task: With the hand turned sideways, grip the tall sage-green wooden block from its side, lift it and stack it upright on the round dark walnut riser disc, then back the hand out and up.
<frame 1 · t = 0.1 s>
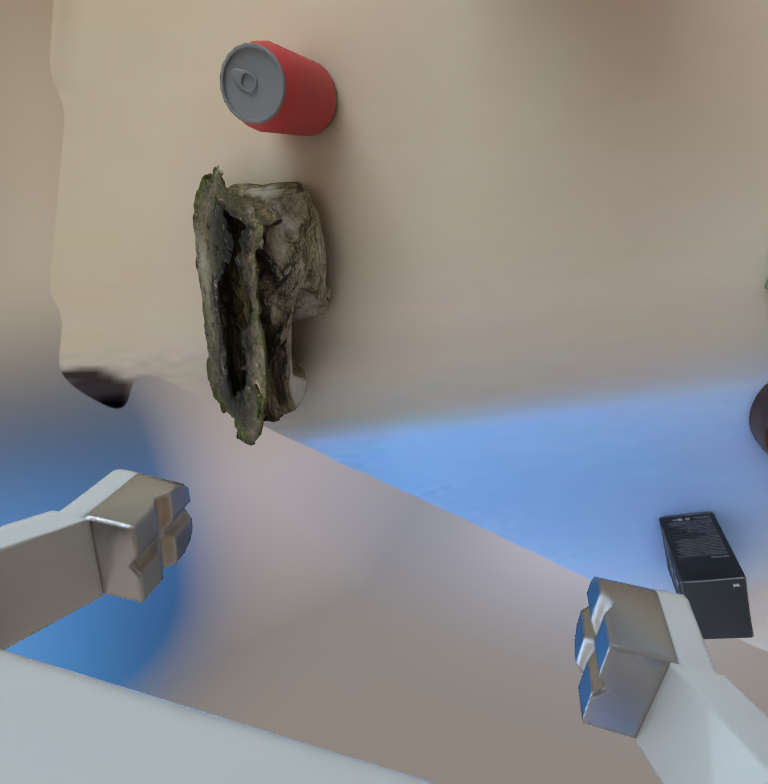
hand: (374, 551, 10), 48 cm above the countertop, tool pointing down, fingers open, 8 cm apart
box: (688, 540, 62), on the countertop
hollow geode rock: (277, 298, 62), on the countertop
beer can: (307, 99, 52), on the countertop
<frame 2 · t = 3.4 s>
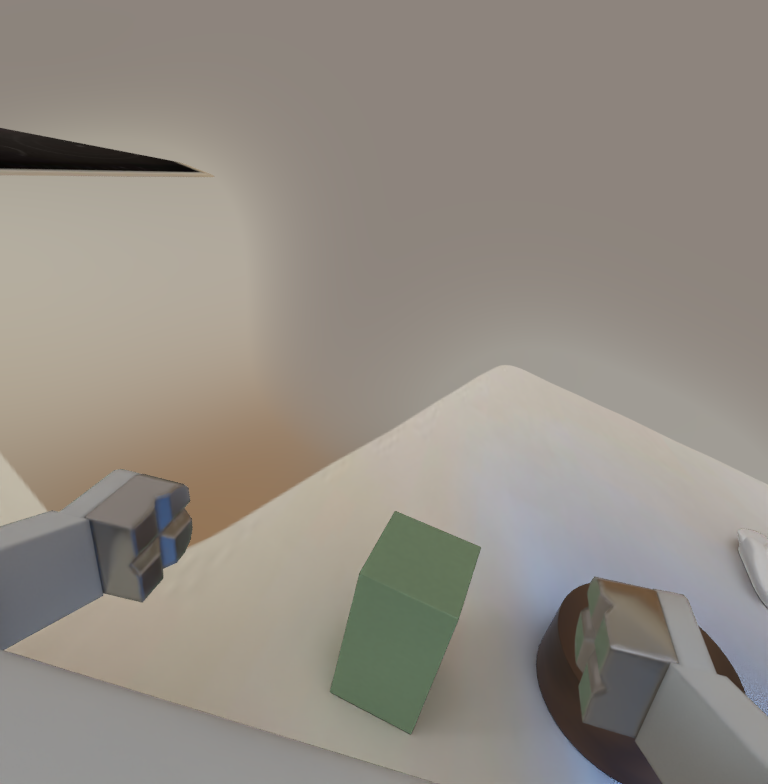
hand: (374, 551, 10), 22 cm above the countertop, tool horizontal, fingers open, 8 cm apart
riser: (621, 695, 33), on the countertop
block: (385, 674, 32), on the countertop
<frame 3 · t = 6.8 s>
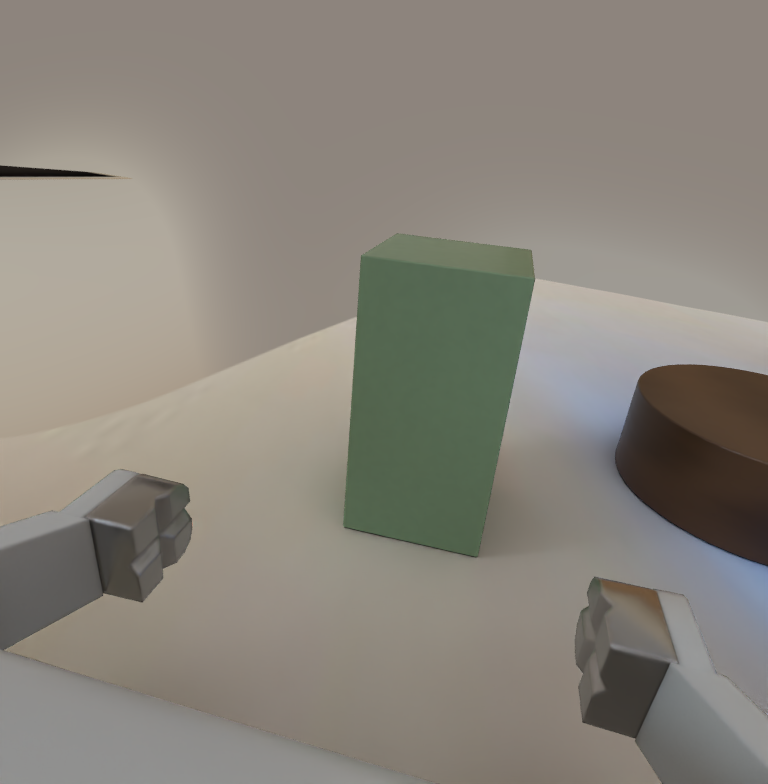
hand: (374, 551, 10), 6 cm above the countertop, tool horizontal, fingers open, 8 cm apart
riser: (741, 490, 24), on the countertop
block: (420, 502, 21), on the countertop
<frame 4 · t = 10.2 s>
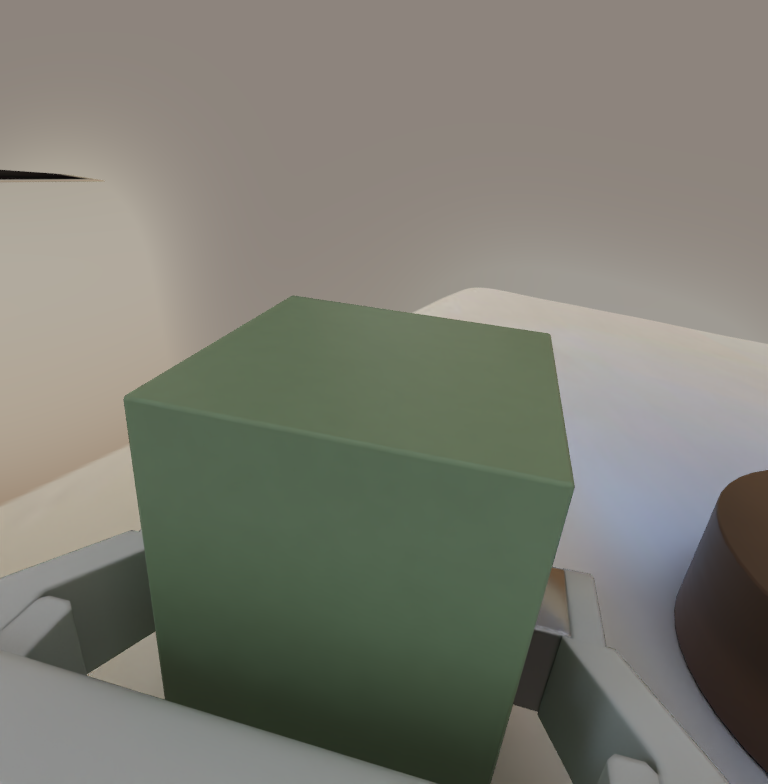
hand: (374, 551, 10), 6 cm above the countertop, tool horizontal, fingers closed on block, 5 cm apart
block: (348, 767, 12), on the countertop, touching gripper
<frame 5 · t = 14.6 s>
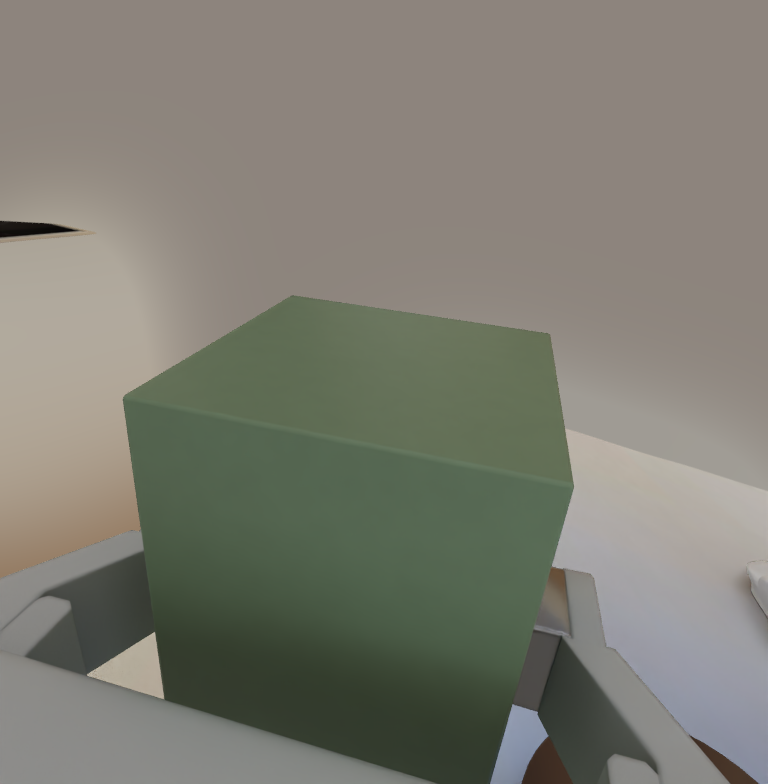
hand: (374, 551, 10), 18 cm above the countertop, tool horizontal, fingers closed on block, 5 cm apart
block: (347, 767, 12), point 13 cm above the countertop, touching gripper
when the fingers open (10 cm above the countertop, at t = 19.4 s): block stays where it is, resting on riser.
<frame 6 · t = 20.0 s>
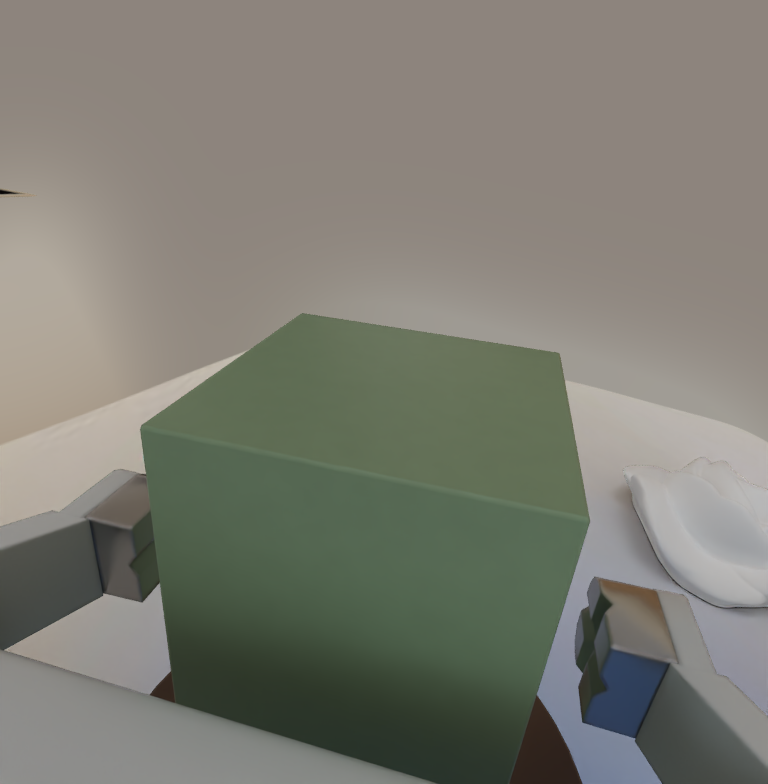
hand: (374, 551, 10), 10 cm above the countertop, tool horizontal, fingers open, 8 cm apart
rose: (704, 544, 27), on the countertop
block: (356, 781, 12), point 4 cm above the countertop, touching riser
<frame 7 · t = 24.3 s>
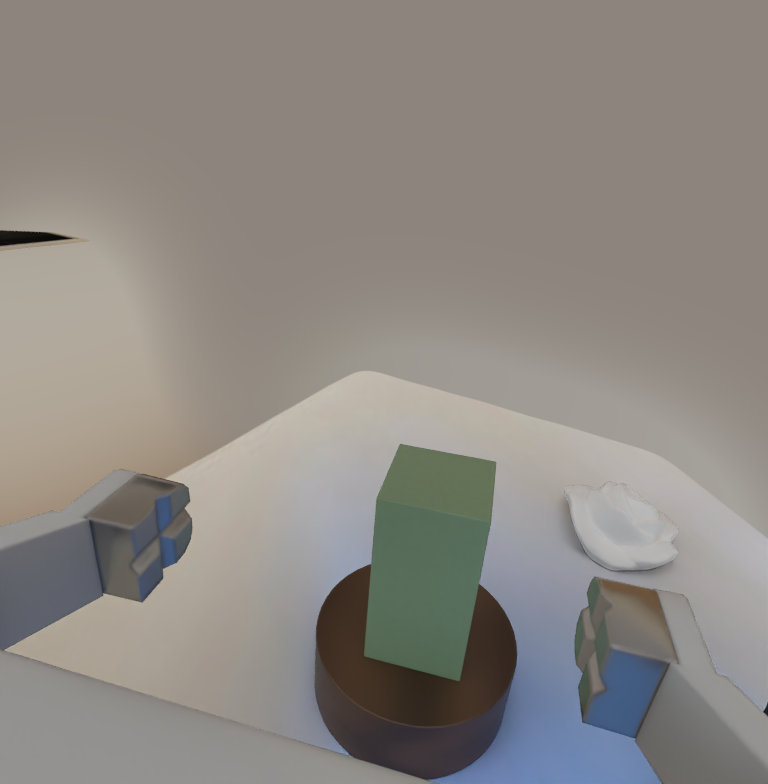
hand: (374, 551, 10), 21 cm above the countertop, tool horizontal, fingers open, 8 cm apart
riser: (409, 677, 31), on the countertop
rose: (612, 535, 44), on the countertop
block: (419, 630, 29), point 4 cm above the countertop, touching riser
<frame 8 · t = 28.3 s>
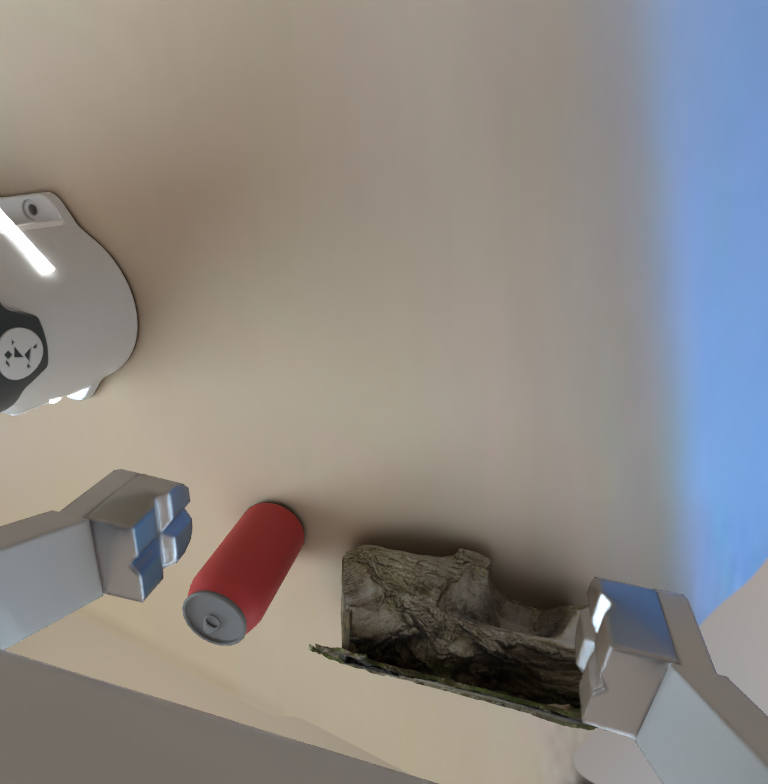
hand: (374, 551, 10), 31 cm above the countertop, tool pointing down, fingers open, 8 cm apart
hollow geode rock: (477, 599, 51), on the countertop
beer can: (276, 525, 53), on the countertop
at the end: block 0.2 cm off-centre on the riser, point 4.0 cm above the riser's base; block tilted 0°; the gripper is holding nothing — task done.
